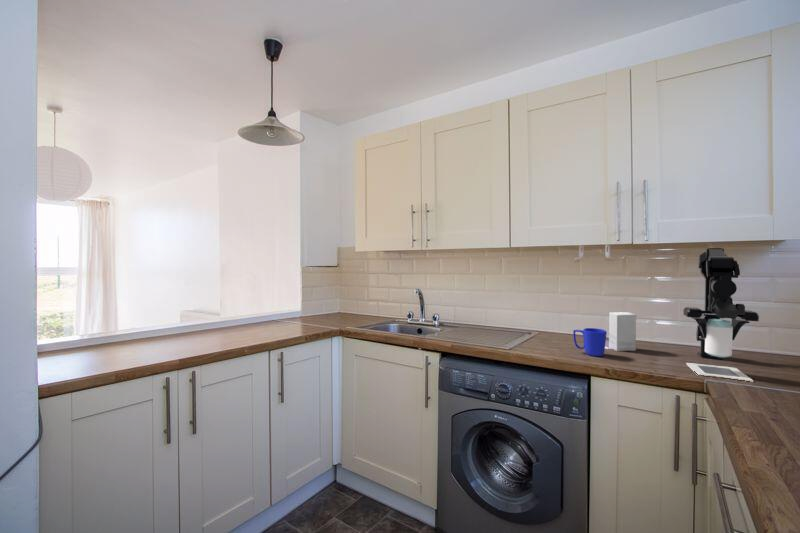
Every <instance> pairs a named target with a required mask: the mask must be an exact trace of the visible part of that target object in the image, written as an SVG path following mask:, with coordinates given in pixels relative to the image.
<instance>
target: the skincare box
mask: <svg viewBox="0 0 800 533" xmlns="http://www.w3.org/2000/svg"><path fill="white" fill-rule="evenodd" d="M608 314H609V322H608V324H609V325H608V326H609V327H608V329H609V330H608V340H609V346H610V347H612V348H613V349H612V350H614V351H616V352H620V351H621V352H623V351H624V352H627V351H630V352H631V351H636V348H637V347H636V345H637V344H636V343H637V342H636V338H637V336H636V335H637V314H635V313H633V312H628V311H622V312H620V311H618V312H614V311H612V312H609V313H608Z"/></svg>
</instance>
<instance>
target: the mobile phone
mask: <svg viewBox="0 0 800 533" xmlns="http://www.w3.org/2000/svg"><path fill="white" fill-rule="evenodd" d="M605 349H606V350H614V349H613V348H612V347H610V346H609V339H606V342H605Z"/></svg>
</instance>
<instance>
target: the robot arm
mask: <svg viewBox="0 0 800 533" xmlns="http://www.w3.org/2000/svg"><path fill="white" fill-rule="evenodd" d="M698 256H699V257H698V263H697V264H698V265H697V266H698V268H697V269H699V272H700V274H701V276H702V277H703V278H704V310H702V309H701V308H699V307H689V306H688V307H684V308H683V316H685V317H688V318H691V319H693V320H695V321H696V323H697V326H696V331H695V332H696V333H695V337H696V341H698V342H700V350H699V351H700V352H699V351H698V352H697V353H696V354H697V355H698V356H700V357H701V358H706V359H713V360H714V359H717V360H723V359H724V357H716V356H711V355H709V354H707V353H706V352H705V338H706V323H707V322H708V319H720V320H722V319H731V322H730V324H731V325H732V326H733V336H732V341H735V338H737V335H738V333H739V332H740V330H741V328H742V327H743V326H744V325H745V324H750V322H759V321H760V320H759V319H760V316H759V313H757V312H756V311H753V310H748V309H747V310H746V306H745V304H744V303H735V304H734V303H733V298H732V296H733V295H734V294H736V292H737V289H738V288H737V285H736V282H734V281H733V280H732V279H738V278H739V277H740V275H741V271H740V270H741V269H740V264H739V263H738V260H735V258H734V257H733V256H729V255H727V254H726V253H725V249H724V248H722V247H708V248H706V249H705V251H704V252H703V253H701V254H700V255H698Z"/></svg>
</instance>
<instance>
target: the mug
mask: <svg viewBox="0 0 800 533" xmlns="http://www.w3.org/2000/svg"><path fill="white" fill-rule="evenodd" d="M576 332H578V333H581V334H582V336H583V337H582V338H583V346H582V347H581V346H579V344H578V343H577V340H576V339H577V338H576ZM607 332H608V331H607V330H605V329H602V328H595V327H592V328H591V327H587V328H584V329H574V330H573V332H572V333H573V334H572V335H573V342H574V345H575V347H576V348H577V349H580V350H584V353H585V354H586V355H588V356H592V357H603V355H604V354H605V351H606V350H605V349H606V348H605V342H606V340H607Z"/></svg>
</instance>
